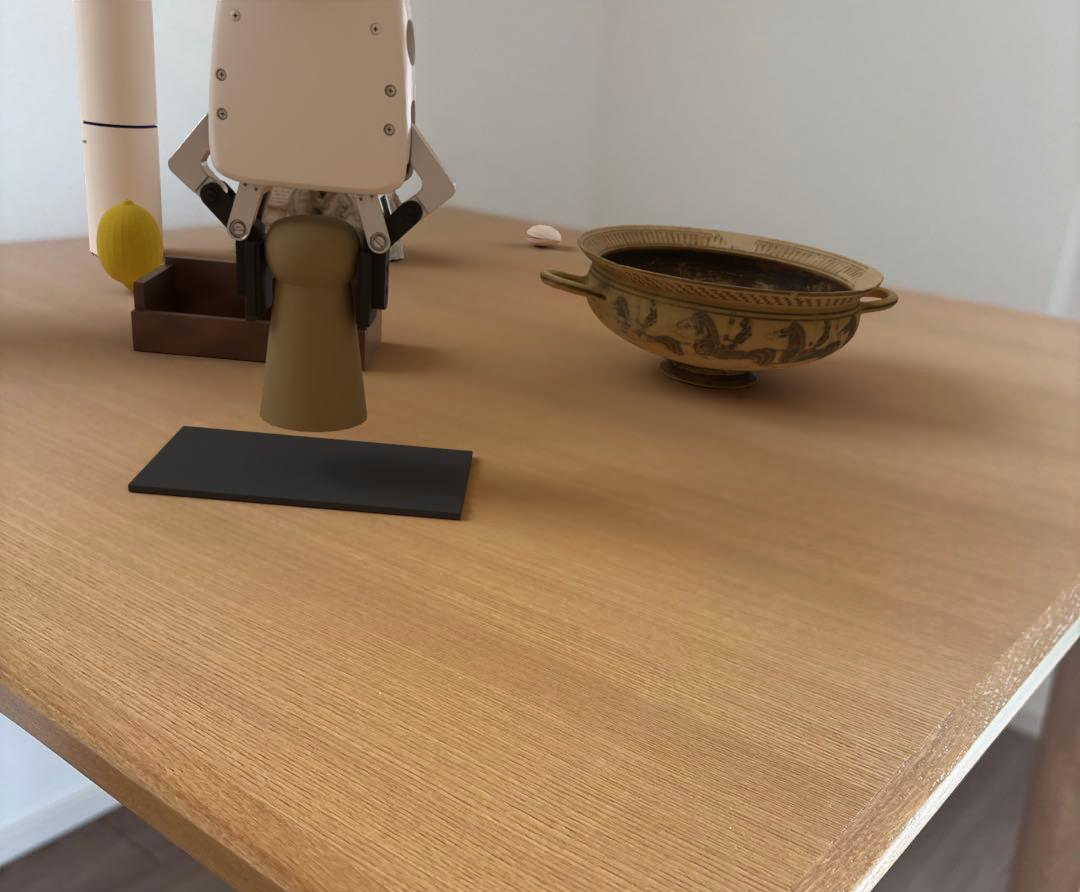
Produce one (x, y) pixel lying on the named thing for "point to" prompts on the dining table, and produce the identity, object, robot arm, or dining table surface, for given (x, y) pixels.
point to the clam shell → (543, 235)
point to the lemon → (128, 243)
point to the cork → (313, 326)
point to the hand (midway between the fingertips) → (313, 313)
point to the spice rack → (210, 313)
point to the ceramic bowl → (722, 299)
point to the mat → (309, 472)
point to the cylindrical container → (117, 106)
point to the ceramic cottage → (323, 209)
